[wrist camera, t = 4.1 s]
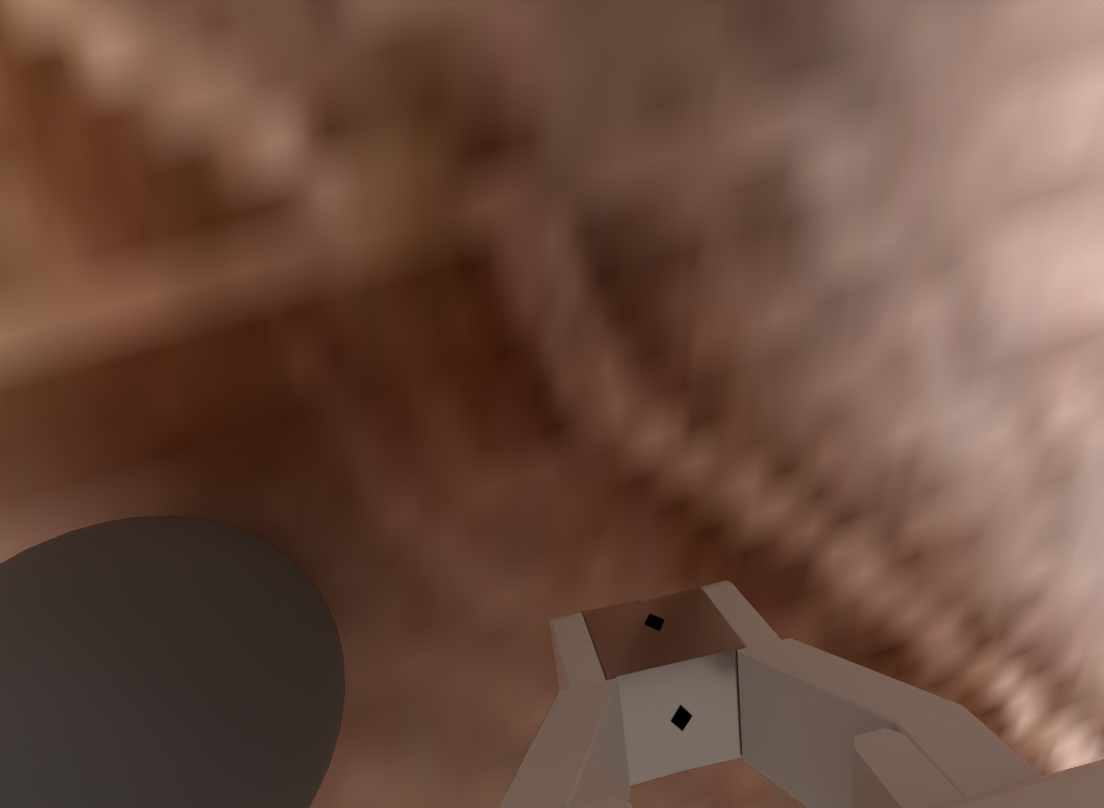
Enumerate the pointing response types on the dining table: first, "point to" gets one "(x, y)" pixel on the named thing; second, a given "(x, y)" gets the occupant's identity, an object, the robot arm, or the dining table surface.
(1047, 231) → the dining table surface
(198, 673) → the dark grey ball
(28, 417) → the dining table surface
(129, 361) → the dining table surface
